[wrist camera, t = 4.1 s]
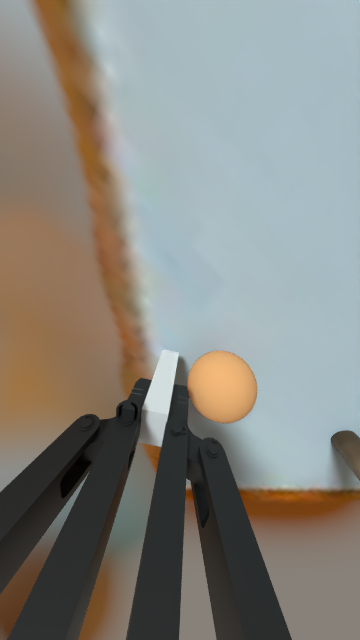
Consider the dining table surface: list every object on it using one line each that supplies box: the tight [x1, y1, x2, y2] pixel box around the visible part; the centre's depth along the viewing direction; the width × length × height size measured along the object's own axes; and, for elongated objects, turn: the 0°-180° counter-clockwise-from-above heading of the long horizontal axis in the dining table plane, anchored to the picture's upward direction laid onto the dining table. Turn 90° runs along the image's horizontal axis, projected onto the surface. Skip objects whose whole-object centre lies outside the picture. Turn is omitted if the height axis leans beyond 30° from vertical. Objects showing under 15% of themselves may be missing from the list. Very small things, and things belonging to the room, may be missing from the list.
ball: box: [188, 351, 257, 423], centre depth 15 cm, size 6×6×6 cm
